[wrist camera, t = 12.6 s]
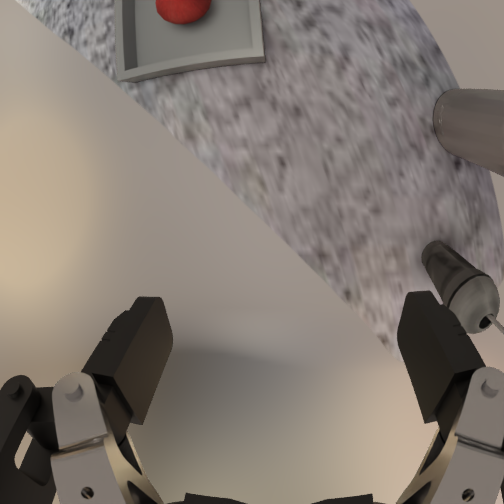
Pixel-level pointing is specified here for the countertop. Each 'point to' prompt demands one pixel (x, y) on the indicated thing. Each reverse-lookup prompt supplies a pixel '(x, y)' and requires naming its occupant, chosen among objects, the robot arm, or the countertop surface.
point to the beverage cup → (462, 288)
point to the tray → (185, 39)
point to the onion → (182, 10)
